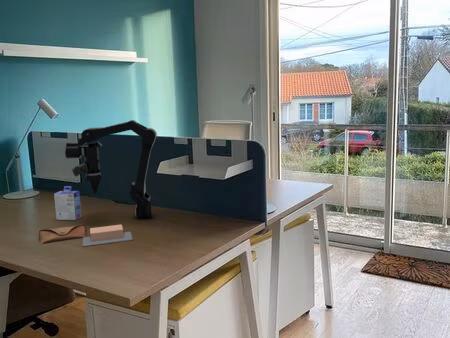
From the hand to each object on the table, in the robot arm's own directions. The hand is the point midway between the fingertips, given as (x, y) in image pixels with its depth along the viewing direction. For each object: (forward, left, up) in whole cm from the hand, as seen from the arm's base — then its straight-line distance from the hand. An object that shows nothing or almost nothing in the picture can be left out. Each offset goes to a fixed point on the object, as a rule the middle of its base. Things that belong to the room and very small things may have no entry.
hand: (95, 192), depth 194 cm
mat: (-3, +29, -12) cm, 32 cm away
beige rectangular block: (-3, +23, -10) cm, 25 cm away
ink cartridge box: (+12, -7, -12) cm, 19 cm away
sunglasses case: (+13, +20, -13) cm, 27 cm away
